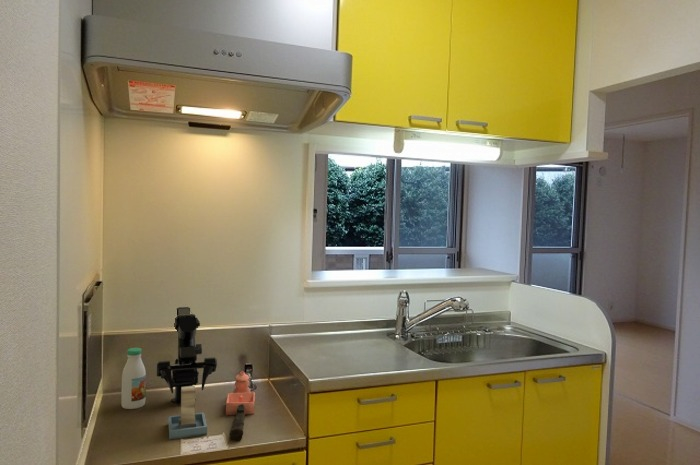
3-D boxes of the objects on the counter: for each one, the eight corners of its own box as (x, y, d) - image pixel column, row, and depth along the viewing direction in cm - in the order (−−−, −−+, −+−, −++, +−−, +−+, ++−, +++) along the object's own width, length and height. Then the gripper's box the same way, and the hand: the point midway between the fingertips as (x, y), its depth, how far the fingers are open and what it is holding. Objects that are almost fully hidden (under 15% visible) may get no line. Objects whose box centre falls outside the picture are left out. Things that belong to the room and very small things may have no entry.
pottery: (253, 414, 166) (254, 386, 166) (225, 415, 164) (226, 387, 164) (254, 394, 184) (255, 369, 183) (229, 395, 182) (230, 369, 181)
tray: (168, 424, 156) (168, 416, 156) (203, 419, 160) (203, 412, 160) (169, 439, 146) (169, 431, 145) (206, 434, 150) (207, 426, 150)
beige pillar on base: (178, 424, 154) (179, 386, 154) (195, 422, 156) (196, 385, 155) (179, 431, 149) (180, 392, 149) (196, 429, 151) (197, 390, 151)
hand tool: (242, 442, 147) (243, 427, 146) (229, 442, 146) (229, 427, 146) (249, 415, 165) (250, 402, 165) (238, 415, 165) (238, 402, 165)
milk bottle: (121, 411, 164) (122, 353, 163) (120, 402, 171) (121, 347, 170) (146, 407, 167) (147, 351, 166) (144, 399, 174) (145, 345, 173)
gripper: (157, 337, 155) (156, 383, 145) (217, 333, 162) (220, 377, 152) (157, 353, 163) (156, 398, 153) (213, 350, 170) (216, 392, 160)
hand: (187, 391), depth 155 cm, fingers open, 9 cm apart
